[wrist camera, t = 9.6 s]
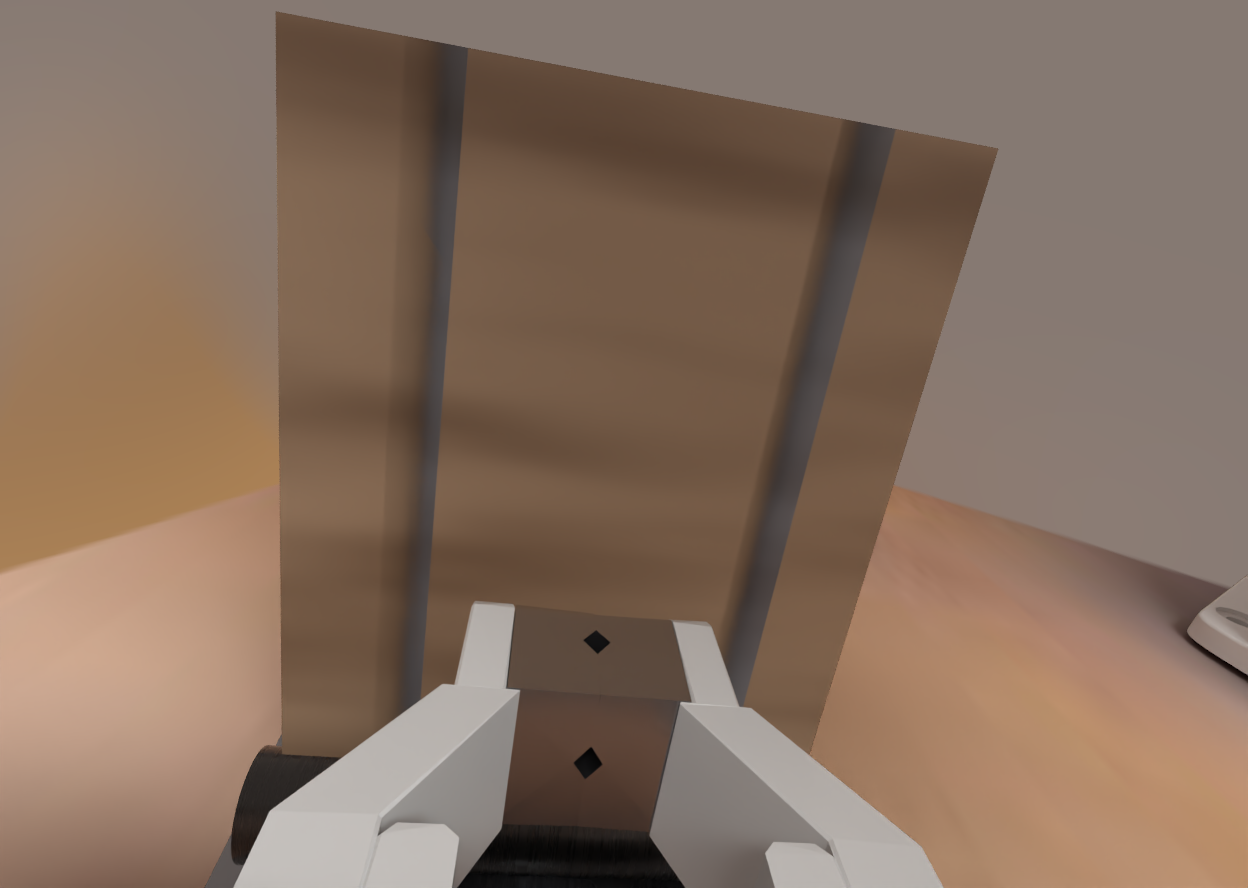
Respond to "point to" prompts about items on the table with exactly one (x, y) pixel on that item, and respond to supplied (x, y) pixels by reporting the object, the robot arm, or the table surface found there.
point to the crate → (585, 363)
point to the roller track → (504, 874)
